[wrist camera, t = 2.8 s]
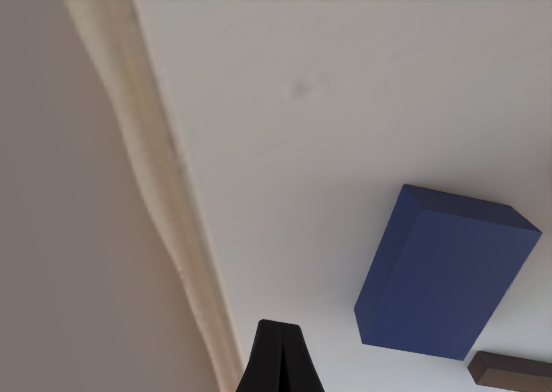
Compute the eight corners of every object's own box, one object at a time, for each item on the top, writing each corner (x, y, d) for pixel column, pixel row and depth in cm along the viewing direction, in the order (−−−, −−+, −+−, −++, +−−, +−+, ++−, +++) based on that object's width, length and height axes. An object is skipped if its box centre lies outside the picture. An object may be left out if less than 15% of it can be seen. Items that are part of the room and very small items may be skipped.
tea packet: (444, 325, 21) (463, 361, 19) (353, 309, 21) (361, 344, 19) (510, 205, 18) (543, 232, 16) (403, 183, 17) (420, 208, 15)
